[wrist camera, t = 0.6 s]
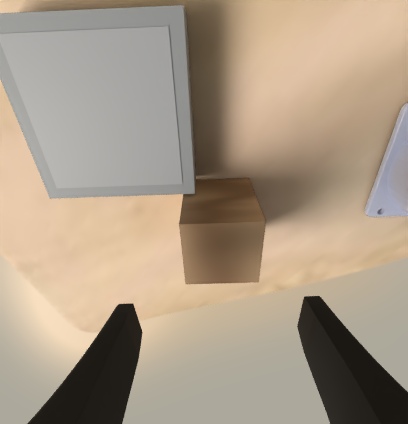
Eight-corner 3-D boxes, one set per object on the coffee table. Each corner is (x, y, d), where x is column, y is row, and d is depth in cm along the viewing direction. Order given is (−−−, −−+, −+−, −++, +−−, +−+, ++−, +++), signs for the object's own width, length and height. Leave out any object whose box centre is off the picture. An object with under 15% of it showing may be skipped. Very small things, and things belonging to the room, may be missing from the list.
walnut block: (249, 177, 18) (265, 221, 13) (245, 229, 20) (258, 282, 15) (185, 179, 18) (179, 224, 13) (189, 231, 20) (185, 284, 15)
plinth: (186, 13, 13) (183, 5, 10) (195, 177, 17) (194, 194, 15) (11, 21, 13) (-28, 14, 11) (68, 181, 18) (49, 198, 15)
